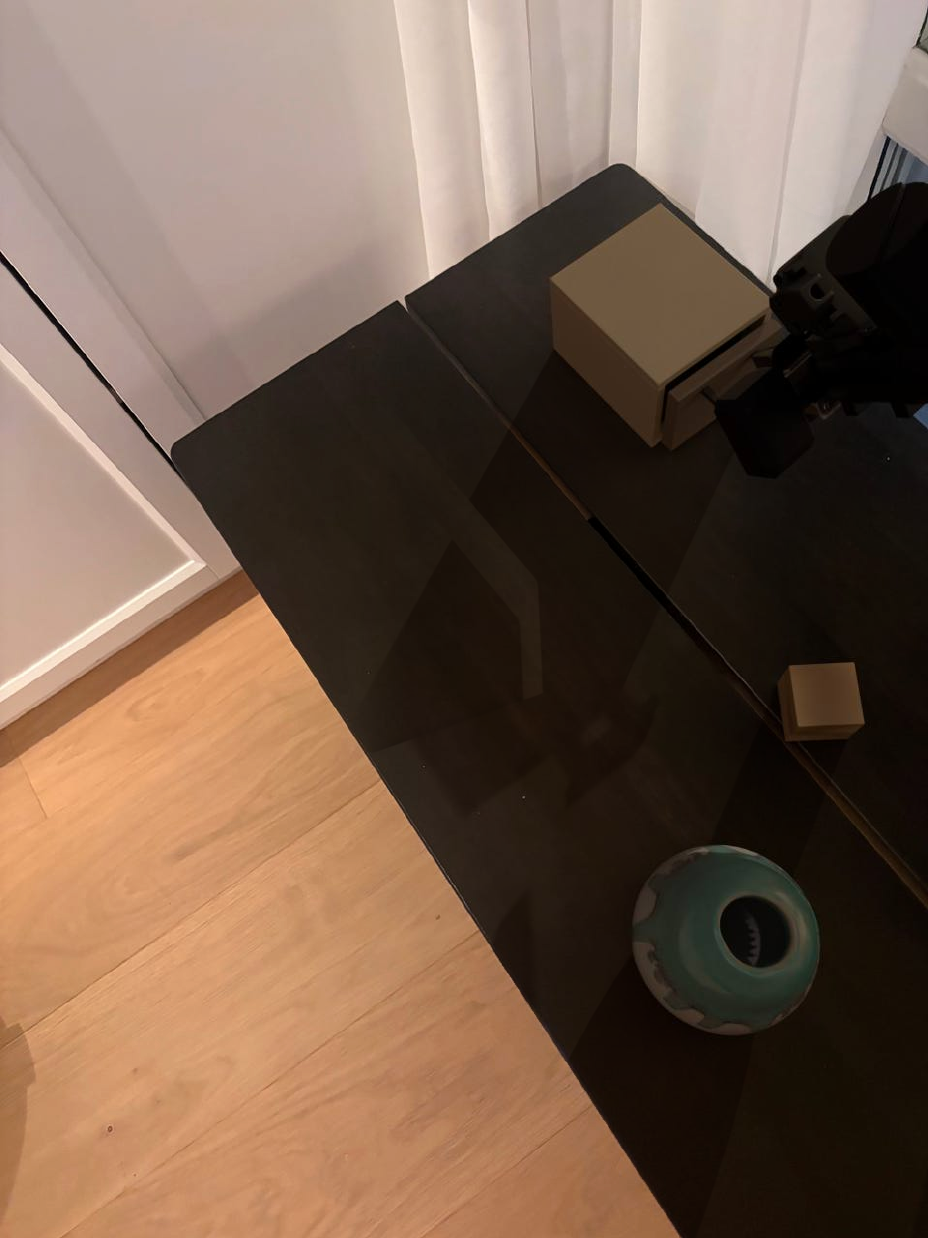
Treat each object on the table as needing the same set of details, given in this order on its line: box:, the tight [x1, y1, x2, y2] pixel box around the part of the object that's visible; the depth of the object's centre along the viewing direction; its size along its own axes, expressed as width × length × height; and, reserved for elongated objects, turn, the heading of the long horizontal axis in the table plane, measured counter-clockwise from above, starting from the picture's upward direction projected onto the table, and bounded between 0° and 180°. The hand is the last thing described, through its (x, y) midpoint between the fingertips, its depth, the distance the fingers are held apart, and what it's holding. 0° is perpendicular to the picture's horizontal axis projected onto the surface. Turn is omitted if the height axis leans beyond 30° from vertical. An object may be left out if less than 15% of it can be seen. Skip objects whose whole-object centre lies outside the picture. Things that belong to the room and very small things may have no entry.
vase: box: [630, 844, 821, 1036], centre depth 55 cm, size 12×12×18 cm
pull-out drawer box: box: [661, 318, 783, 452], centre depth 75 cm, size 17×10×7 cm, turn 36°
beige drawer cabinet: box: [548, 202, 773, 448], centre depth 77 cm, size 14×12×9 cm
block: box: [776, 662, 865, 742], centre depth 66 cm, size 4×4×4 cm
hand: (757, 359), depth 67 cm, fingers closed
